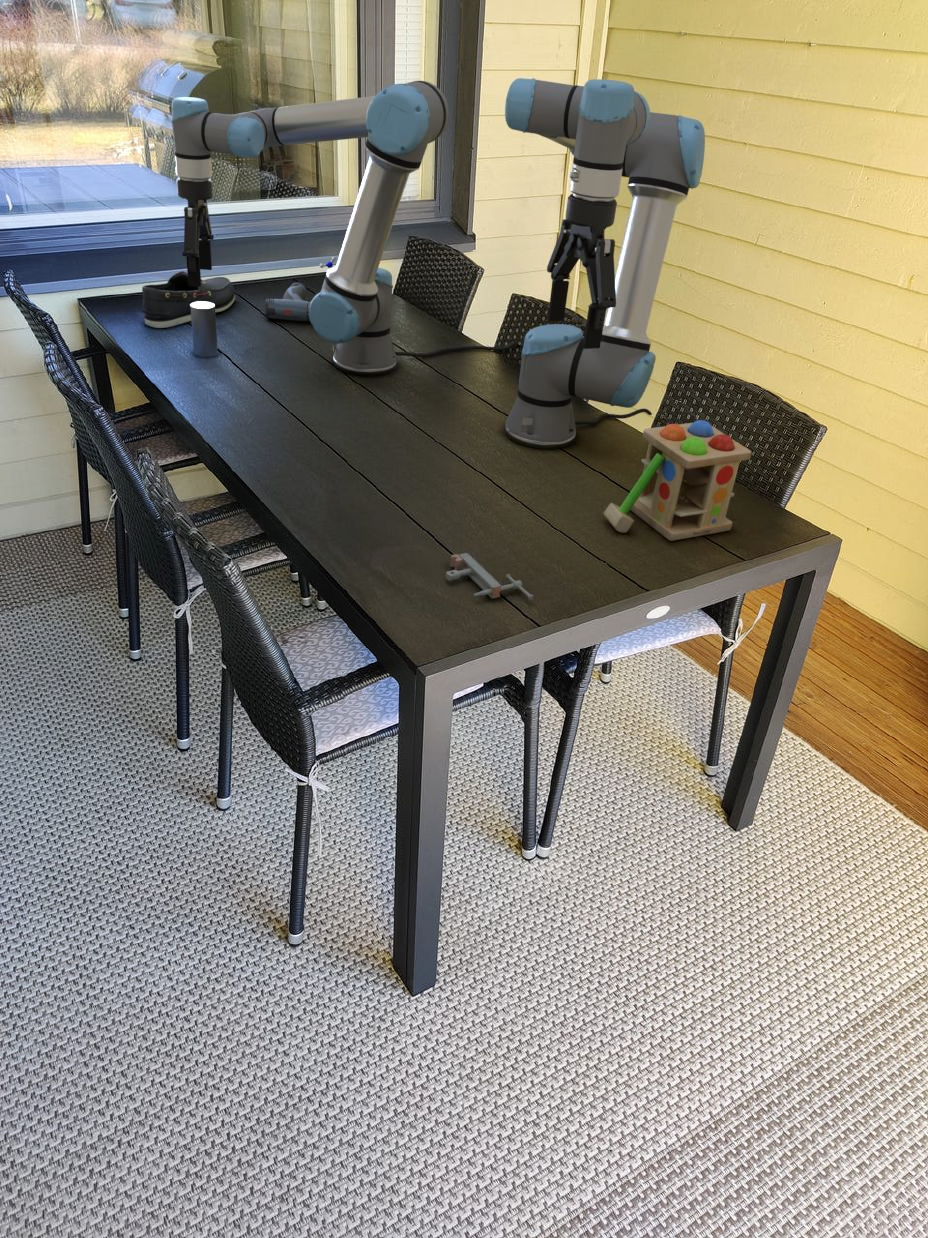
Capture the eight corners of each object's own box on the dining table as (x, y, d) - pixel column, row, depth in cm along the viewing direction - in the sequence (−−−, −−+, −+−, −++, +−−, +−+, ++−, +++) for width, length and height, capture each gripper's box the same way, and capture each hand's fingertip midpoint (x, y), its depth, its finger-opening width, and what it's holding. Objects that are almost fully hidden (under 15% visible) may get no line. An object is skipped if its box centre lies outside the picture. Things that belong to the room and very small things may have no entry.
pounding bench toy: (630, 549, 173) (650, 456, 163) (588, 512, 183) (603, 423, 173) (732, 530, 182) (756, 441, 172) (686, 496, 193) (706, 410, 183)
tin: (200, 358, 233) (196, 309, 226) (189, 351, 236) (186, 302, 230) (221, 355, 236) (219, 306, 229) (211, 347, 239) (208, 300, 233)
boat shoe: (253, 306, 269) (251, 267, 264) (162, 330, 245) (157, 287, 240) (219, 297, 275) (216, 259, 269) (126, 320, 251) (121, 278, 245)
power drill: (344, 304, 276) (335, 327, 259) (277, 298, 275) (264, 321, 258) (344, 285, 273) (335, 306, 256) (277, 279, 272) (264, 300, 255)
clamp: (435, 558, 161) (487, 546, 165) (434, 569, 162) (486, 557, 167) (482, 605, 150) (536, 591, 155) (480, 617, 152) (534, 603, 156)
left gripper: (187, 165, 223) (194, 261, 235) (164, 187, 203) (172, 291, 215) (221, 168, 224) (225, 263, 236) (201, 191, 203) (207, 294, 215)
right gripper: (537, 178, 157) (522, 310, 169) (608, 215, 138) (585, 361, 150) (579, 178, 160) (561, 309, 172) (655, 215, 141) (628, 359, 153)
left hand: (200, 277), depth 225 cm, fingers open, 13 cm apart
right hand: (572, 333), depth 161 cm, fingers open, 13 cm apart
